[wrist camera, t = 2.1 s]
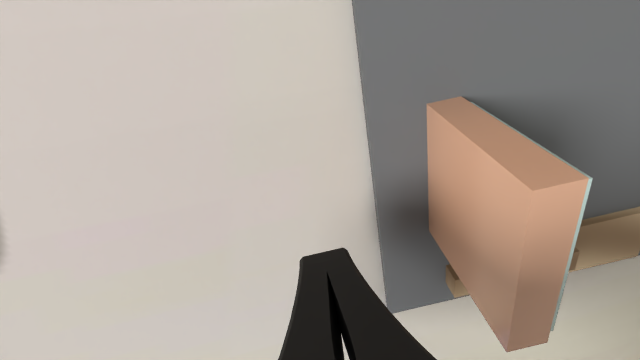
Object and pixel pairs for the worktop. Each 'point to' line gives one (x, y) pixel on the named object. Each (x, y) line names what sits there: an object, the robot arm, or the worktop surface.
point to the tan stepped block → (589, 244)
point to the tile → (503, 217)
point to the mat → (493, 105)
